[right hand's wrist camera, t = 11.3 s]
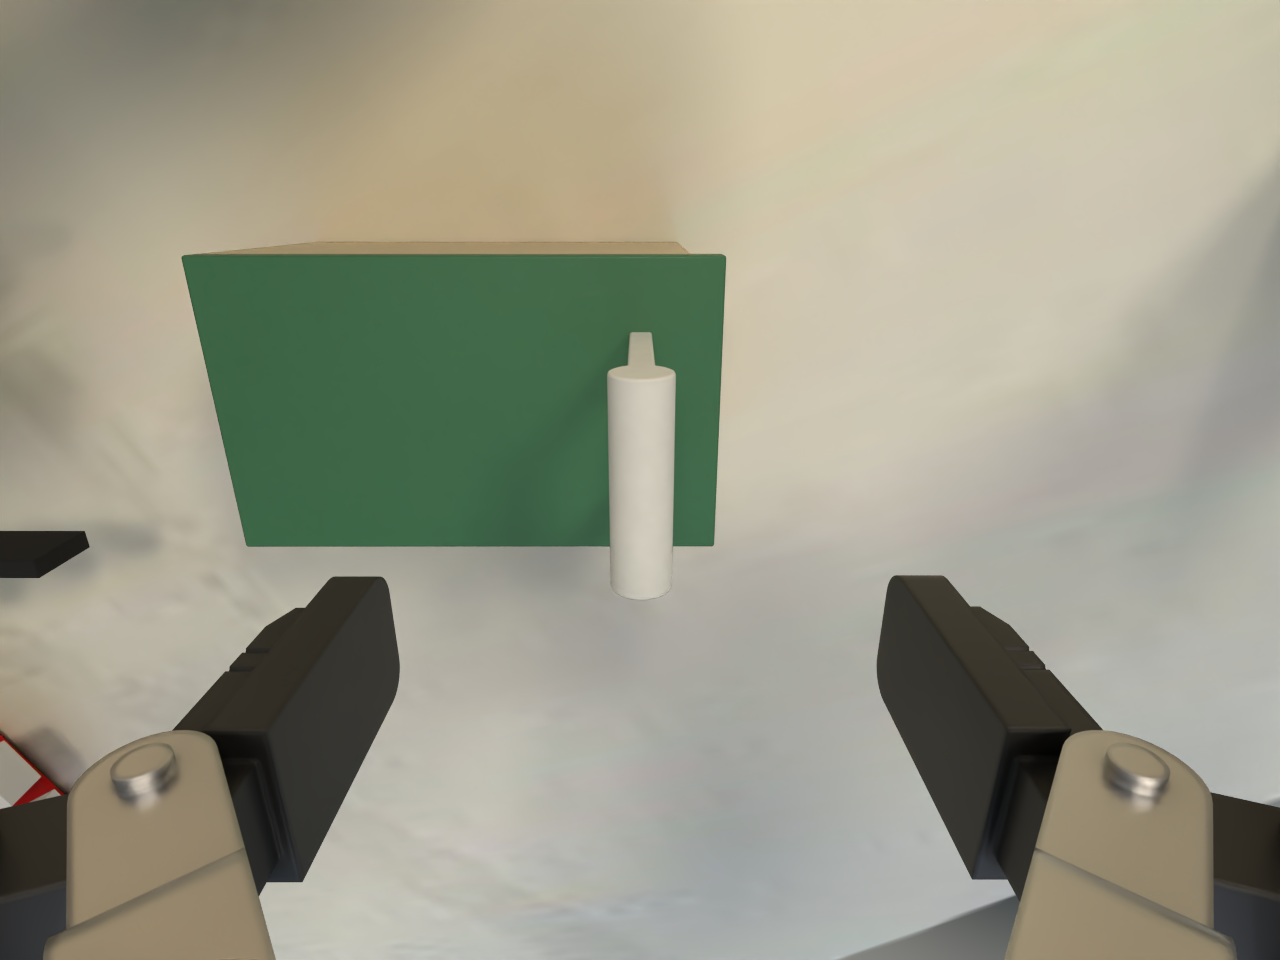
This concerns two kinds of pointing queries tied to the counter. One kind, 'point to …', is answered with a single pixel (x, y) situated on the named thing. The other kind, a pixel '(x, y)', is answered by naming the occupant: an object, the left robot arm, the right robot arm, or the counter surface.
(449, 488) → the lid
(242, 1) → the counter surface
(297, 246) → the chest
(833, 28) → the counter surface
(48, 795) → the toy
